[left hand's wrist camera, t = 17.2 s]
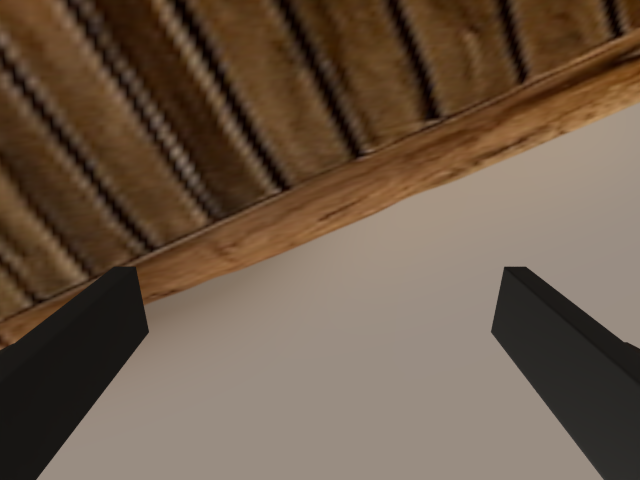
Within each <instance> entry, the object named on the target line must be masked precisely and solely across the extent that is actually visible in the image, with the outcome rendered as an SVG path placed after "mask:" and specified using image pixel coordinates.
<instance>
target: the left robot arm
mask: <svg viewBox="0 0 640 480" xmlns="http://www.w3.org/2000/svg"><path fill="white" fill-rule="evenodd" d="M148 333H149V330H148V325H147V320H146V315H145V310H144V305H143V300H142V295H141V291H140V286H139V281H138V276H137V271H136V267H113V268H112V269H111V270H109V271H108V272H107V273H105V274H104V275H103V276H101V277H100V278H99V279H98V280H96V281H95V282H94V283H92V284H91V285H90V286H88V287H87V288H86V289H85V290H83V291H82V292H81V293H79V294H78V295H77V296H75V297H74V298H73V299H72V300H70V301H69V302H68V303H66V304H65V305H64V306H62V307H61V308H60V309H59V310H57V311H56V312H55V313H53V314H52V315H51V316H49V317H48V318H47V319H46V320H44V321H43V322H42V323H40V324H39V325H38V326H37V327H35V328H34V329H33V330H31V331H30V332H29V333H27V334H26V335H25V336H24V337H22V338H21V339H20V340H18V341H17V342H16V343H14V344H12V345H10V346H8V347H6V348H4V349H2V350H0V480H36V479H37V478H38V477H39V475H40V474H41V473H42V471H43V470H44V469H45V467H46V466H47V465H48V463H49V462H50V461H51V460H52V458H53V457H54V456H55V454H56V453H57V452H58V450H59V449H60V448H61V447H62V445H63V444H64V443H65V441H66V440H67V439H68V437H69V436H70V435H71V433H72V432H73V431H74V430H75V428H76V427H77V426H78V424H79V423H80V422H81V420H82V419H83V418H84V416H85V415H86V414H87V413H88V411H89V410H90V409H91V407H92V406H93V405H94V403H95V402H96V401H97V399H98V398H99V397H100V395H101V394H102V393H103V392H104V390H105V389H106V388H107V386H108V385H109V384H110V382H111V381H112V380H113V378H114V377H115V376H116V375H117V373H118V372H119V371H120V369H121V368H122V367H123V365H124V364H125V363H126V361H127V360H128V359H129V358H130V356H131V355H132V354H133V352H134V351H135V350H136V348H137V347H138V346H139V344H140V343H141V342H142V340H143V339H144V338H145V337H146V335H147V334H148ZM491 333H492V334H493V335H494V337H495V338H496V339H497V341H498V342H499V343H500V344H501V346H502V347H503V348H504V350H505V351H506V352H507V354H508V355H509V356H510V357H511V359H512V360H513V361H514V363H515V364H516V365H517V367H518V368H519V369H520V371H521V372H522V373H523V375H524V376H525V377H526V378H527V380H528V381H529V382H530V384H531V385H532V386H533V388H534V389H535V390H536V392H537V393H538V394H539V395H540V397H541V398H542V399H543V401H544V402H545V403H546V405H547V406H548V407H549V409H550V410H551V411H552V413H553V414H554V415H555V416H556V418H557V419H558V420H559V422H560V423H561V424H562V426H563V427H564V428H565V430H566V431H567V432H568V433H569V435H570V436H571V437H572V439H573V440H574V441H575V443H576V444H577V445H578V446H579V448H580V449H581V450H582V452H583V453H584V454H585V456H586V457H587V458H588V460H589V461H590V462H591V464H592V465H593V466H594V467H595V469H596V470H597V471H598V473H599V474H600V475H601V477H602V478H603V479H604V480H640V349H639V348H637V347H635V346H633V345H631V344H629V343H627V342H623V341H622V340H620V339H619V338H618V337H616V336H615V335H614V334H612V333H611V332H610V331H609V330H607V329H606V328H605V327H603V326H602V325H601V324H600V323H598V322H597V321H596V320H594V319H593V318H592V317H591V316H589V315H588V314H587V313H585V312H584V311H583V310H581V309H580V308H579V307H578V306H576V305H575V304H574V303H572V302H571V301H570V300H568V299H567V298H566V297H565V296H563V295H562V294H561V293H559V292H558V291H557V290H555V289H554V288H553V287H552V286H550V285H549V284H548V283H546V282H545V281H544V280H542V279H541V278H540V277H539V276H537V275H536V274H535V273H533V272H532V271H531V270H529V269H528V268H527V267H504V271H503V276H502V281H501V286H500V291H499V295H498V300H497V305H496V310H495V315H494V320H493V325H492V330H491Z"/></svg>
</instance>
